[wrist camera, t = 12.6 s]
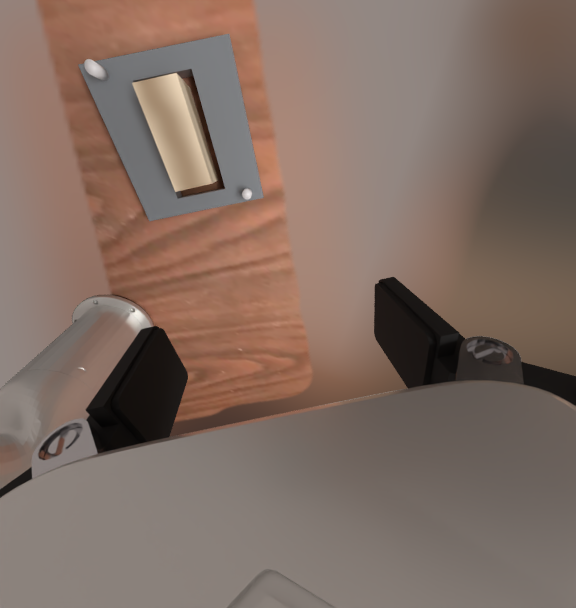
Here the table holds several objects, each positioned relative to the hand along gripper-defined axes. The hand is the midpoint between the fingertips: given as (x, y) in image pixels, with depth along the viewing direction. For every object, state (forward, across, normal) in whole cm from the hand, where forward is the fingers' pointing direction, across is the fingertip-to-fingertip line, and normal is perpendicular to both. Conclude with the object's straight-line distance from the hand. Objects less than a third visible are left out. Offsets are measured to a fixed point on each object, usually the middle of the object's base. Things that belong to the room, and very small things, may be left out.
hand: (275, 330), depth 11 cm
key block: (+31, +8, -10) cm, 33 cm away
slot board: (+30, +8, -10) cm, 33 cm away
